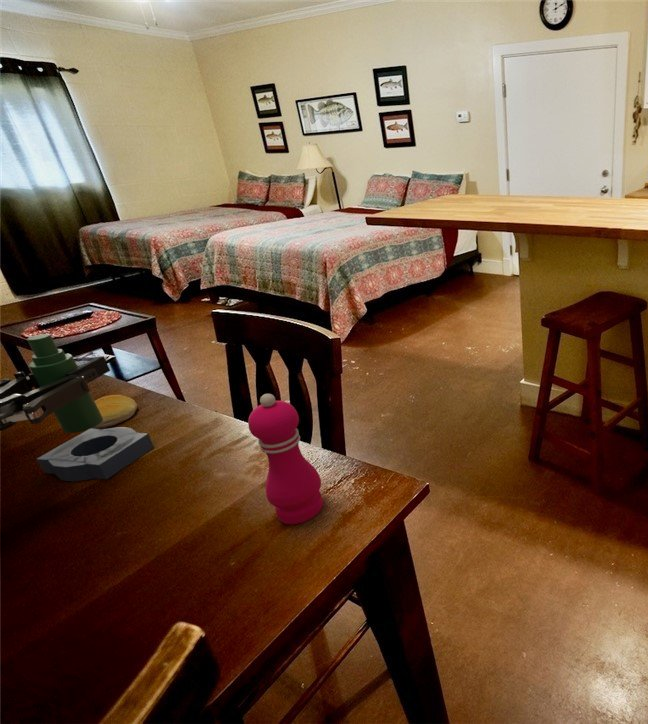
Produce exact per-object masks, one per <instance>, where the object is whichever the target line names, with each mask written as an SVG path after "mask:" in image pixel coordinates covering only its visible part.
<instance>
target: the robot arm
mask: <svg viewBox="0 0 648 724" xmlns="http://www.w3.org/2000/svg"><path fill="white" fill-rule="evenodd" d="M77 367H78V368H76V369H74V370H72V371H70V372H68V373H66V376H67V377H64V378H62V379H60V380H57V381H55V382H52V383H50V384H47V385H45V386H42V387H40V386H39V384H38V382H37V381H36V379H35V377H34V375H33V373H32V372H31V373H29V374H27V375H26V374H25V372H24V371H18V372H14V373H13V376H14V378H13V380H12V379H11V378H10V377H9V378H2V379H1V380H0V432H2V431H4V430H7V429H8V428H12V427H13V426H15V425H16V424H17V423H19V422H22V421H29V423H30V424H31V425H37V424H40V423H42V422H43V421H44V420H45V419H46V418H47V417H49V416H50V415H51V414H54V412H55V411H57V410H58V409H60V408H62V407H64V406H65V405H67V404H69V403H71V402H72V401H74V400H76V399H78V398H79V397H81V396H83V395H84V394H86V393H88V392H90V393H91V389H90V388H91V387H89V385H88V384H89V383H92V382H93V381H95V380H96V379H98V378H100V377H102V376H103V375H105V374H107V373H109V372H110V371H111V369H110V367H109V365H108V362H107V360H106V359H105V356H103V355H102V356H97V357H95V358H93V359H92V360H89V361H87V362H85V363H84V364H82V365H79V366H77ZM33 388H34V389H33Z"/></svg>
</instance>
